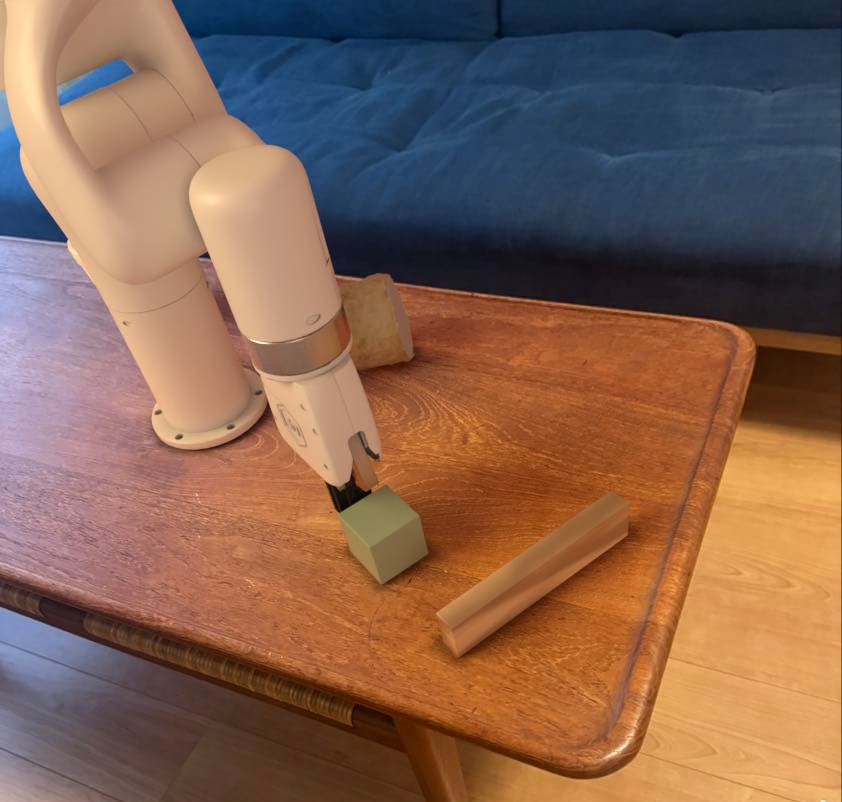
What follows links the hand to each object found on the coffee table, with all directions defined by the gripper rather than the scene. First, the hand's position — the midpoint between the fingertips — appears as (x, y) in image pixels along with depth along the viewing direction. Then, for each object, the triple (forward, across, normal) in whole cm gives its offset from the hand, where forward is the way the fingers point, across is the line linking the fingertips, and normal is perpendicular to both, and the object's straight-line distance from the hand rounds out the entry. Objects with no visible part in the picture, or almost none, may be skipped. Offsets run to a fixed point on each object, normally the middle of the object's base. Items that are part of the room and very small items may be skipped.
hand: (355, 506), depth 72 cm
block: (+2, +5, 0) cm, 5 cm away
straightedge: (+3, +16, +7) cm, 18 cm away
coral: (+2, -19, +15) cm, 25 cm away
